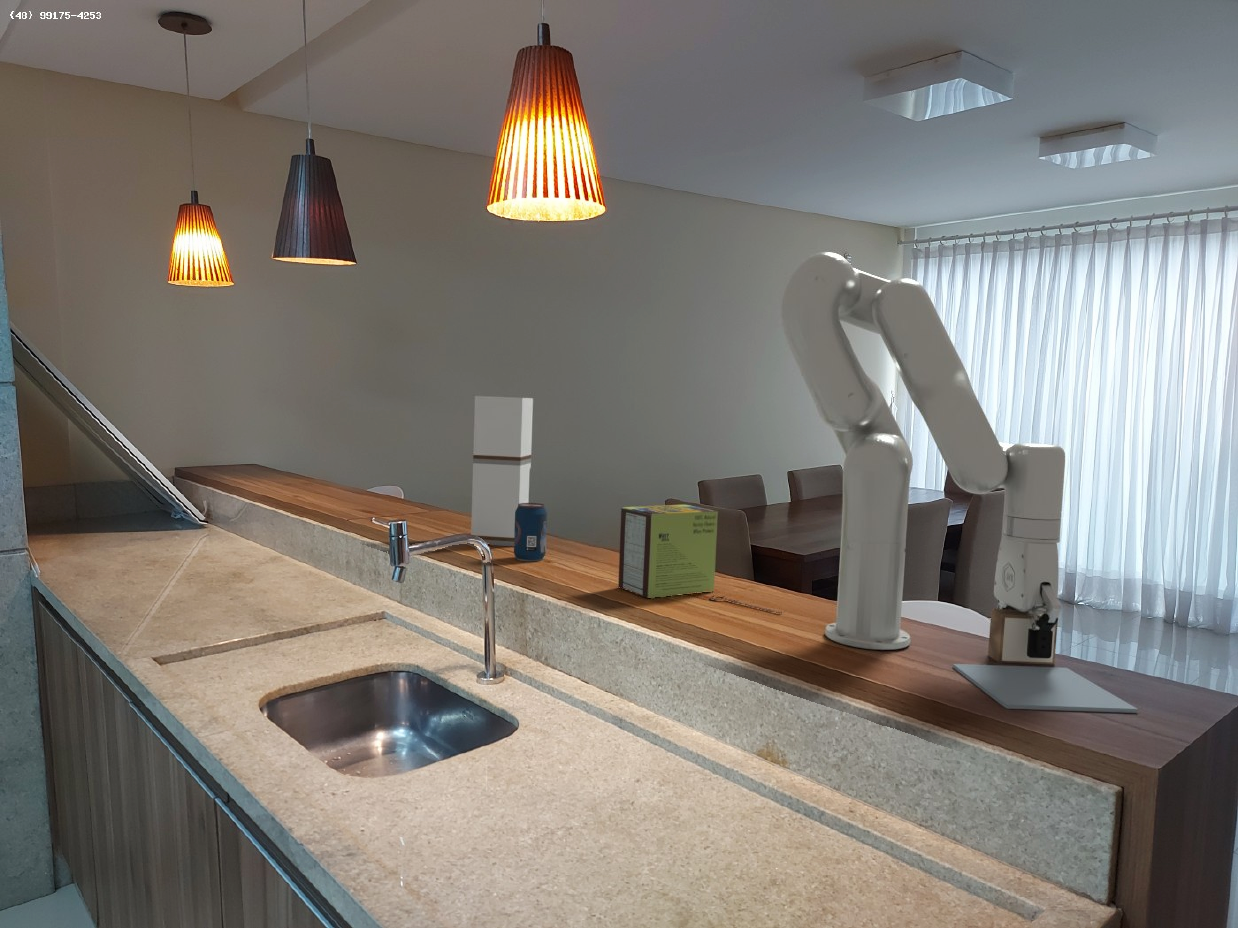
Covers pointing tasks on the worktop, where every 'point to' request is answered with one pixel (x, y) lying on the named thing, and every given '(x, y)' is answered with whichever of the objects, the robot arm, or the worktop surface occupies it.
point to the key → (746, 604)
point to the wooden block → (1014, 637)
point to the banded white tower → (500, 465)
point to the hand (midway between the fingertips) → (1022, 647)
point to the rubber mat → (1042, 688)
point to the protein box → (667, 550)
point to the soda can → (530, 532)
